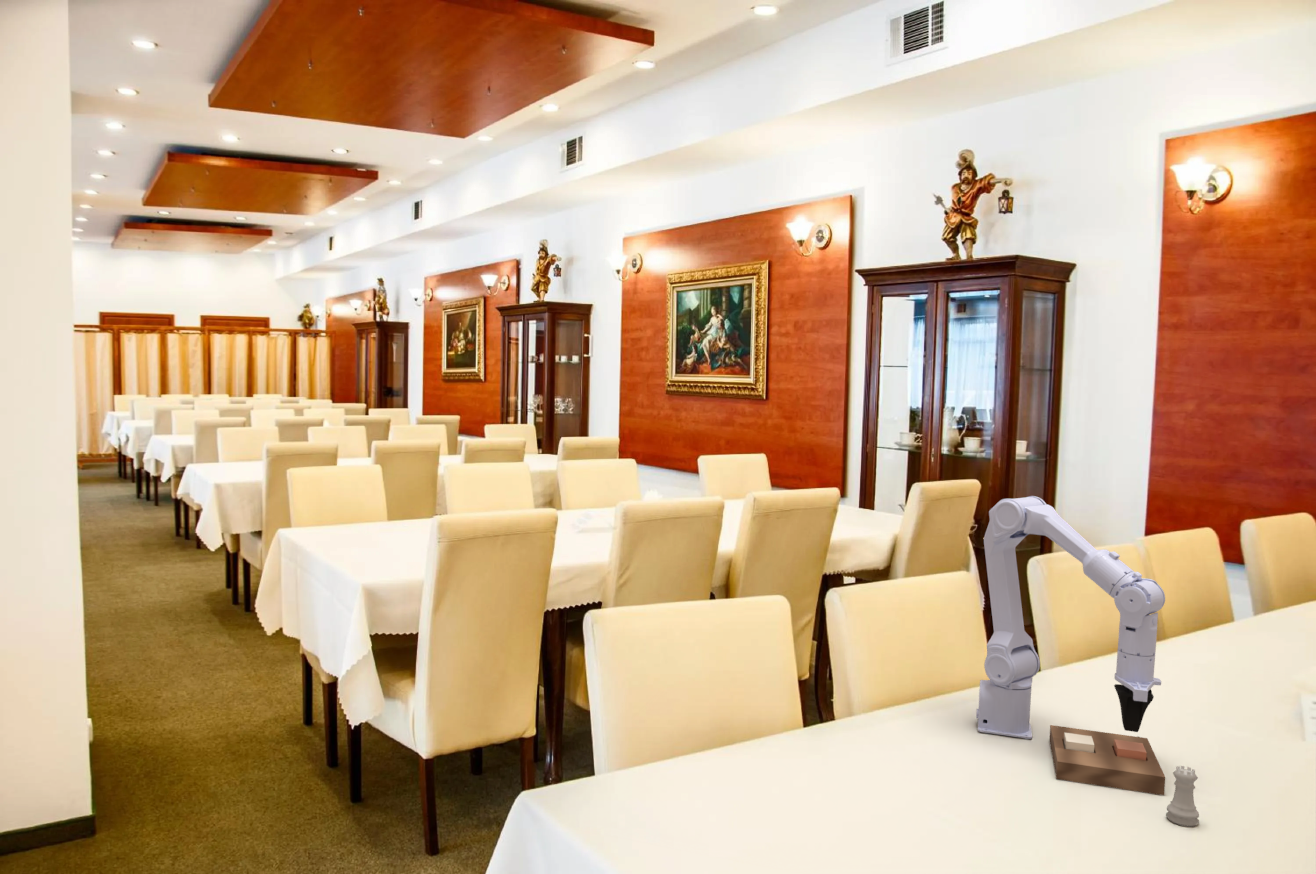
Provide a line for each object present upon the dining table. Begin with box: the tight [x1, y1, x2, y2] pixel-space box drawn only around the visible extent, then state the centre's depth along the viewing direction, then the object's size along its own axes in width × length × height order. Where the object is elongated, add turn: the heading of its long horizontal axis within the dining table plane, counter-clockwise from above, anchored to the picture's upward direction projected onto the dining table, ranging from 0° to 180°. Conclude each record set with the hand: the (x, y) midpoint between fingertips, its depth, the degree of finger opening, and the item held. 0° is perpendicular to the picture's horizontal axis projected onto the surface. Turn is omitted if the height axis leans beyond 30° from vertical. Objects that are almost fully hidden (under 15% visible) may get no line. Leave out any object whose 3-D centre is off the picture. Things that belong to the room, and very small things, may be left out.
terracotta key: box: [1114, 739, 1147, 760], centre depth 163 cm, size 4×4×4 cm
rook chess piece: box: [1165, 765, 1200, 828], centre depth 145 cm, size 4×4×8 cm
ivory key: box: [1064, 732, 1094, 753], centre depth 166 cm, size 4×4×4 cm
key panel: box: [1049, 724, 1166, 796], centre depth 165 cm, size 16×18×3 cm
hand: (1130, 730), depth 163 cm, fingers closed
